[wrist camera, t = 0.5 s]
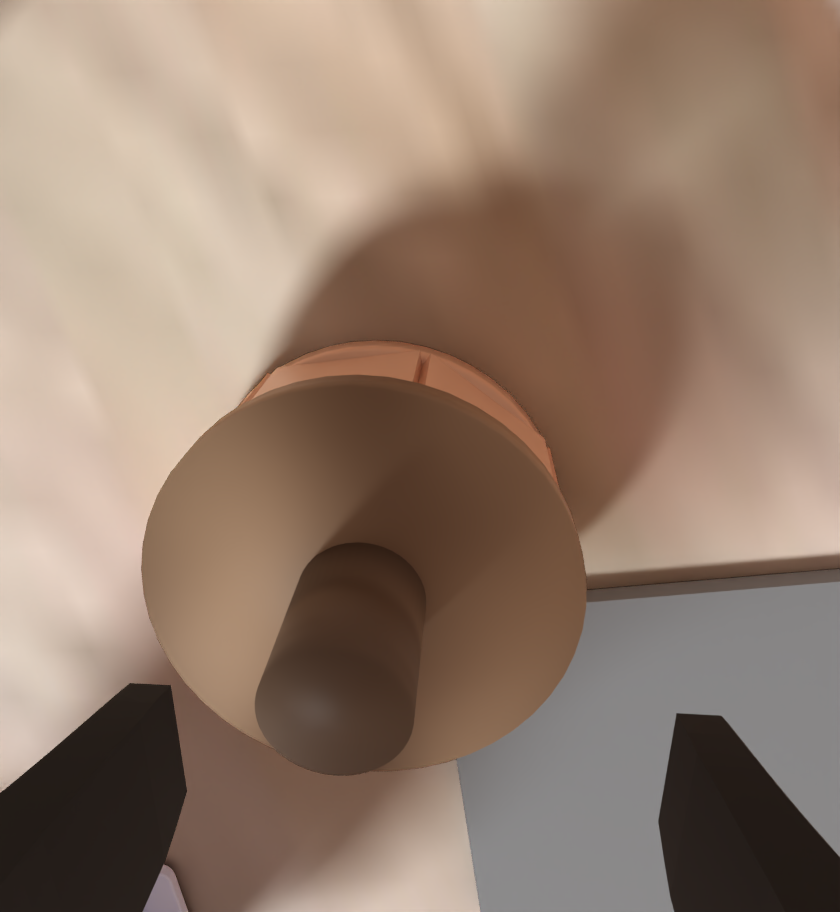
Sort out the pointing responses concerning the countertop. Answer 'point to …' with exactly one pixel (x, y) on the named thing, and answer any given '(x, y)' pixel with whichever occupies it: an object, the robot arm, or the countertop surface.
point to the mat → (655, 736)
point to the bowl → (413, 380)
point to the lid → (365, 574)
